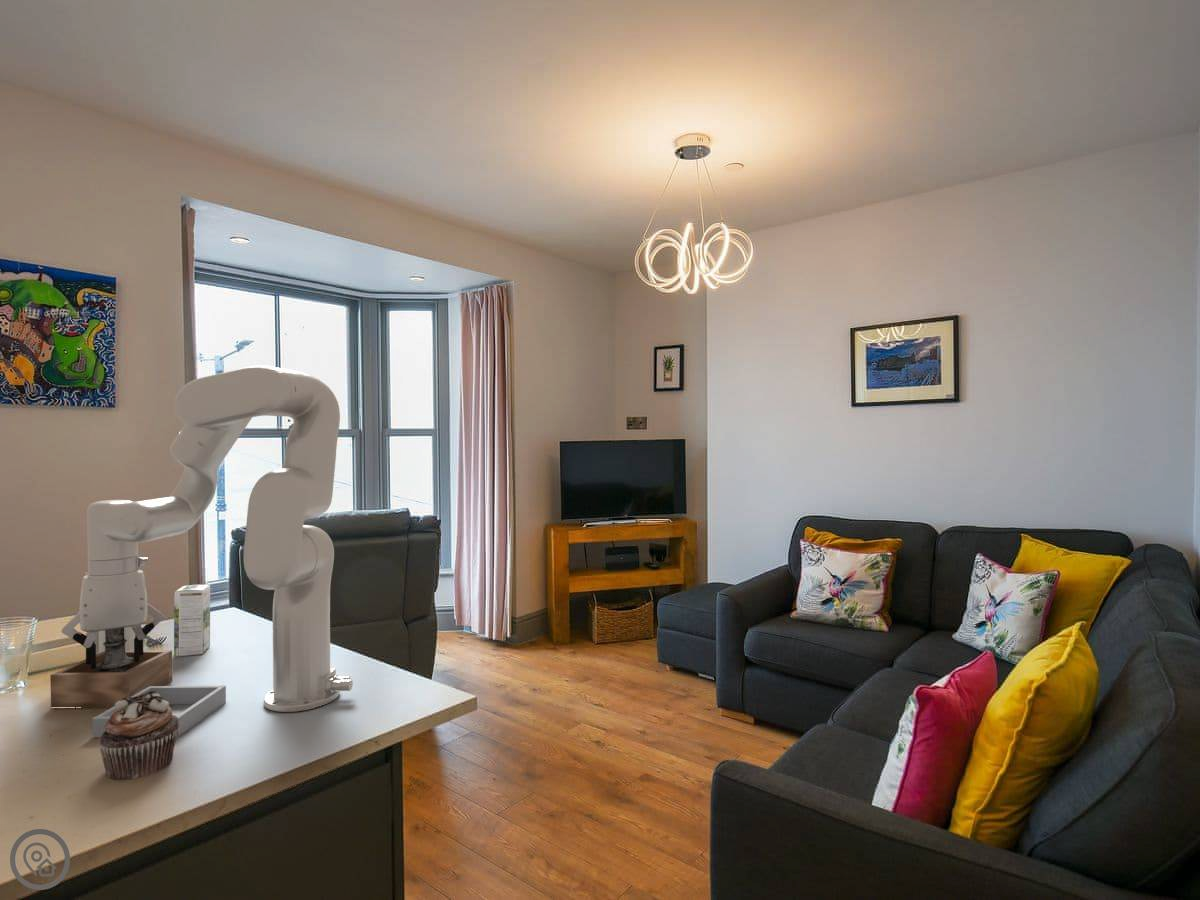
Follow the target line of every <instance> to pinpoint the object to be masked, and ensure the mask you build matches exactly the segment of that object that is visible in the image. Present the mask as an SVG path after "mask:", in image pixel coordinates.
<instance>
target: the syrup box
mask: <svg viewBox="0 0 1200 900" xmlns="http://www.w3.org/2000/svg"><path fill="white" fill-rule="evenodd" d="M173 599H174V601H173V603H174V605H173V606H174V607H173V611H174V615H173V657H187V656H195V655H204V654H205V652H206V651H207V650H208V649H209V648H210V647H211V585H210V584H191V585H189V584H188V585H183V586H181V587H180V588H178V589H177V590H175V591H174V597H173Z"/></svg>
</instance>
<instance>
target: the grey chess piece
mask: <svg viewBox="0 0 1200 900" xmlns="http://www.w3.org/2000/svg"><path fill="white" fill-rule="evenodd" d="M105 640H106V642H105V643H103V645H104V646H105V658H104V660H103V661H102V662H100V663H98V664H97V665H96V668H98V672H99V673H114V672H125V671H127V670H129V669H131V668H132V666H133V662H134V658H132V657H127V655H126V652H125V642H127V640H126V639H124V628H117V629H110V630H105Z"/></svg>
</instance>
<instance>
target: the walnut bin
mask: <svg viewBox="0 0 1200 900" xmlns="http://www.w3.org/2000/svg"><path fill="white" fill-rule="evenodd" d="M125 652H126V655H127V657H132V658H134V651H125ZM104 658H105V651H104V652H101V653H99V654H97V655H96V665H97V664H98V663H100V662H102V661H103V660H104ZM49 681H50V708H51V707H75V708H76V707H81V708H82V709H110V708H112V707H114V706H115V703H116V702H118V701H121V700H122V698H126V697H131V696H133V695H135V694H137V693H138V692H140V691H142V690H144V689H146V688H147V687H149V686H167V685H168V684H169V683H171V682H173V650H165V649H164V650H143V655H140V656H139V661H138V662H136V661H134V662H133V666H132V668H131V669H129V670H127V671H125V672H114V673H99V672H98V668H94V669H91V664H86V658H85V659H84V660H81V661H79V662H77V663H74V664H72V665H70V666H68V667H65V668H63V669H61V670H58V671H55V672H54V673H51V674H50V680H49Z"/></svg>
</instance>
